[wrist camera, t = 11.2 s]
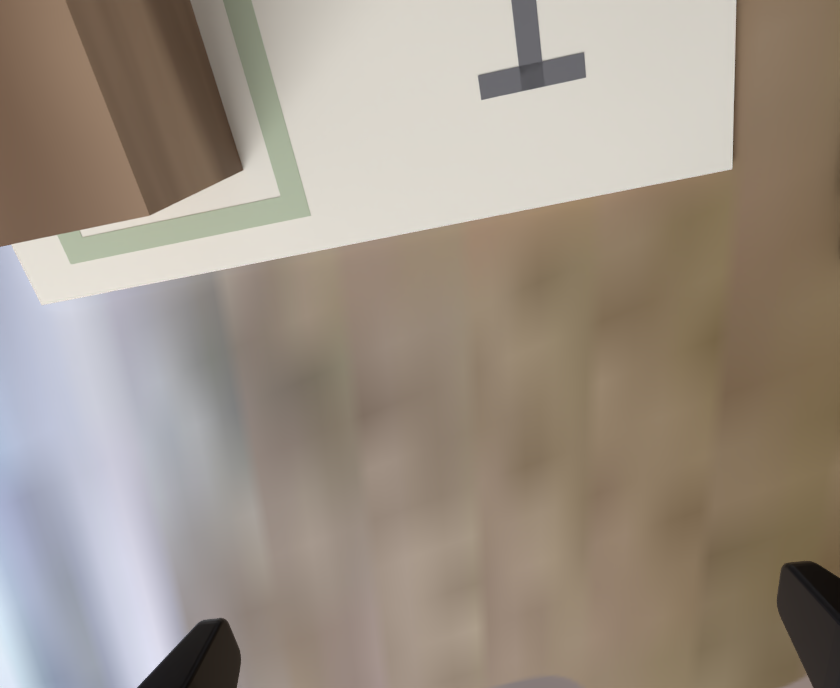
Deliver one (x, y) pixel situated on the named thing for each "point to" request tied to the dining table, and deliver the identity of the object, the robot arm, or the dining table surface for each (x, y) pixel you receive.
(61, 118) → the walnut block
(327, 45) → the white flat sheet
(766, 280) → the dining table surface
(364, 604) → the dining table surface
